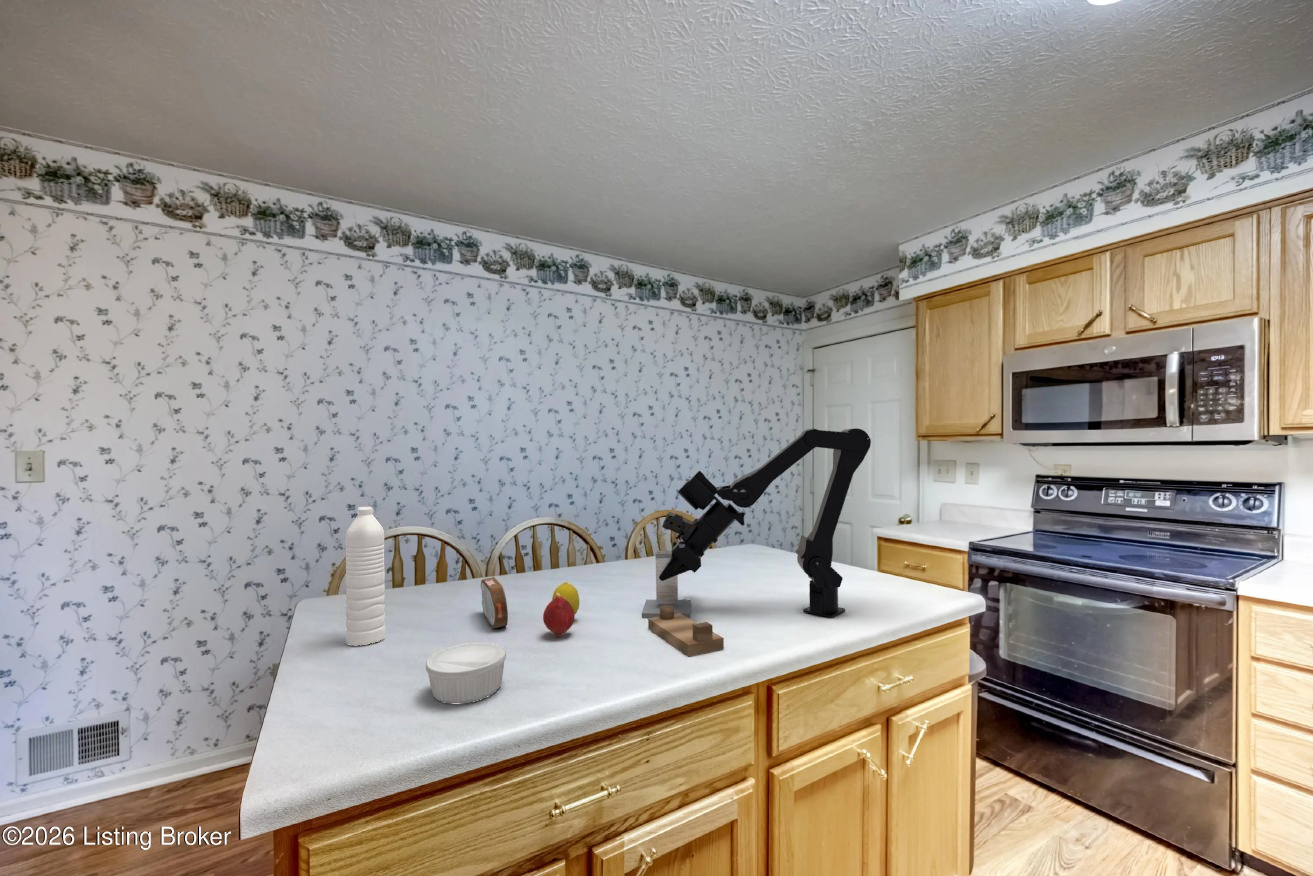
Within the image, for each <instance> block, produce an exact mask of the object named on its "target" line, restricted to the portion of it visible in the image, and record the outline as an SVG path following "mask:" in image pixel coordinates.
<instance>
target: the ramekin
mask: <svg viewBox="0 0 1313 876" xmlns="http://www.w3.org/2000/svg"><path fill="white" fill-rule="evenodd" d="M506 659H507V651H506V648H505V647H503V646H502V645H500V644H497V643H492V642H483V641H480V642H465V643H460V644H456V645H453V646H448V647H446V648H443V649H441V650H438V651H437V652H435V653H433V654H432V655H431V656H429V657H428V658H427V660H426V662H425V671H426V672H427V674H428V679H429V684H430V689H431V692H432V696H433V698H435V699H436V700H437V701H438V700H439V701H438V702H440V701H441V702H440V703H442V702H445V703H468V704H470V703H469V702H473V701H477V700H480V699H483V698H485V699H487V698H488V697H487V696H489V697H491V696H492V695H494V694H495V693H496V692H497V691H498V690H499V688H500V686H501V685H502V682H503V675H504V667H505V661H506ZM497 689H498V690H497ZM494 692H495V693H494ZM493 693H494V694H493ZM491 694H492V695H491ZM490 695H491V696H490ZM486 697H487V698H486ZM483 700H484V699H483ZM480 701H481V700H480ZM477 702H478V701H477ZM445 703H444V704H445ZM473 703H474V702H473Z"/></svg>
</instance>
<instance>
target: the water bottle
mask: <svg viewBox="0 0 1313 876" xmlns="http://www.w3.org/2000/svg"><path fill="white" fill-rule="evenodd" d="M356 513H357V515H356V516H355V518H354V519H353V521H352V522H351V524H350V526H348V529H346V532H345V537H344V539H345V555H346V556H345V573H346V574H345V586H346V589H345V598H346V599H345V604H346V607H345V608H346V609H345V617H346V620H345V627H346V631H345V634H346V635H345V636H346V637H345V640H346V641H345V642H346V644H347V643H348V644H351V645H350V646H352V645H360V646H361V645H365V644H370V643H372V644H373V643H375V642H378V641H380V640H381V641H383V640H384V639H385V638H386V614H385V613H386V605H385V604H386V594H385V593H386V584H385V581H386V580H385V579H386V575H385V568H386V567H385V530H384V528H383V526H382V525H381V524H380V522H379V521H378V520H377V518H376V517H375V515H373V514H374V508H373V507H372V506H359V507H357V512H356ZM382 639H383V640H382ZM381 641H380V642H381ZM378 643H379V642H378ZM348 644H347V645H348ZM375 644H376V643H375ZM370 645H371V644H370Z"/></svg>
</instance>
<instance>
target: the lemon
mask: <svg viewBox="0 0 1313 876" xmlns="http://www.w3.org/2000/svg"><path fill="white" fill-rule="evenodd" d="M556 593H559V594H560V596H562V597H563V598H564V599H566V600H567V601H568V602H569V603H570V605H571V606H572V607H573V609H574V614H575V615H576V614H578V613H577V612H579V611H578V610H579V608H580V596H579V592H578V589H577V588H576V587H575V586H574V585H573V584H571V583H569V582H568V581H564V582H563V583H562V584H560V585H558V586H557V587H556V588H555V589H554V592H553V594H552V597H551V601H552V600H553V599H555V596H556Z"/></svg>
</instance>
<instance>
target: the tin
mask: <svg viewBox="0 0 1313 876" xmlns="http://www.w3.org/2000/svg"><path fill="white" fill-rule="evenodd" d="M480 589H481V599H482V600H481V606H482V611H483V615H484V618H486V620H487V622H488V623H489V625H490V626H491V628H492V629H499V628H504V626H505V627H507V626H508V619H509V612H508V611H509V610H508V602H507V598H506V597H507V596H506V593H505V589H504V587H503V584H501V582H500V581H499V580H498V579H497V578H496V577H495V576H492V577H487V578H483V579H481V581H480Z"/></svg>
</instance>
